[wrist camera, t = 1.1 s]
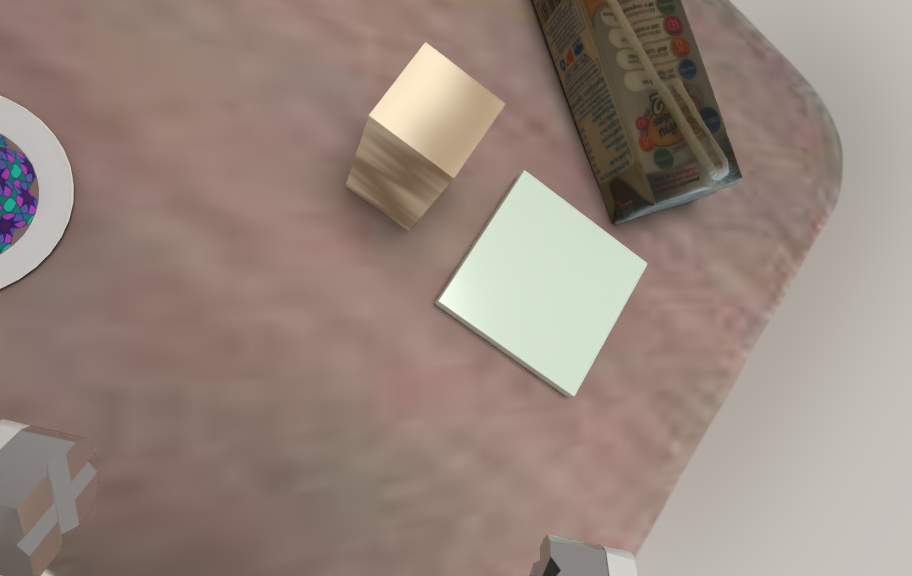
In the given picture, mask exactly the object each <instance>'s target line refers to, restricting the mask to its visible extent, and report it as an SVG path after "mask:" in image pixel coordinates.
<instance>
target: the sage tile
mask: <svg viewBox="0 0 912 576" xmlns="http://www.w3.org/2000/svg"><path fill="white" fill-rule="evenodd" d="M646 266H647V263H646V262H645V261H643V260H642V259H641V258H640V257H638V256H637V255H636V254H634V253H633V252H632V251H630V250H629V249H628V248H626V247H625V246H624V245H622V244H621V243H620V242H619V241H617V240H616V239H615V238H613V237H612V236H611V235H609V234H608V233H607V232H605V231H604V230H603V229H601V228H600V227H599V226H597V225H596V224H595V223H594V222H592V221H591V220H590V219H588V218H587V217H586V216H584V215H583V214H582V213H580V212H579V211H578V210H576V209H575V208H574V207H572V206H571V205H570V204H569V203H567V202H566V201H565V200H563V199H562V198H561V197H559V196H558V195H557V194H555V193H554V192H553V191H551V190H550V189H549V188H547V187H546V186H545V185H544V184H542V183H541V182H540V181H538V180H537V179H536V178H534V177H533V176H532V175H530V174H529V173H528V172H526V171H525V170H524V171H523V172H522V173H521V174H520V175H518V177H517V178H516V180H515V181H514V183H513V184H512V186H511V187H510V189H509V190H508V192H507V193H506V195H505V196H504V198H503V199H502V201H501V202H500V204H499V205H498V207H497V209H496V210H495V212H494V213H493V215H492V216H491V218H490V219H489V221H488V222H487V224H486V225H485V227H484V228H483V230H482V231H481V233H480V234H479V236H478V237H477V239H476V240H475V242H474V243H473V245H472V246H471V248H470V250H469V251H468V253H467V254H466V256H465V257H464V259H463V260H462V262H461V263H460V265H459V266H458V268H457V269H456V271H455V272H454V274H453V275H452V277H451V278H450V280H449V281H448V283H447V284H446V286H445V287H444V289H443V291H442V292H441V294H440V295H439V297H438V298H437V300H436V301H435V303H434V304H436V305H437V306H438V307H440V308H441V309H443V310H444V311H446V312H447V313H448V314H450V315H451V316H453V317H454V318H455V319H457V320H458V321H460V322H461V323H463V324H464V325H465V326H467V327H468V328H470V329H471V330H473V331H474V332H475V333H477V334H478V335H480V336H481V337H483V338H484V339H485V340H487V341H488V342H490V343H491V344H492V345H494V346H495V347H497V348H498V349H500V350H501V351H502V352H504V353H505V354H507V355H508V356H510V357H511V358H512V359H514V360H515V361H517V362H518V363H519V364H521V365H522V366H524V367H525V368H527V369H528V370H529V371H531V372H532V373H534V374H535V375H537V376H538V377H539V378H541V379H542V380H544V381H545V382H546V383H548V384H549V385H551V386H552V387H554V388H555V389H556V390H558V391H559V392H561V393H562V394H564V395H565V396H572V397H574V396H575V394H576V392H577V390H578V389H579V387H580V385H581V383H582V381H583V380H584V378H585V376H586V374H587V372H588V371H589V369H590V367H591V365H592V363H593V362H594V360H595V358H596V356H597V354H598V352H599V351H600V349H601V347H602V345H603V343H604V342H605V340H606V338H607V336H608V334H609V333H610V331H611V329H612V327H613V325H614V324H615V322H616V320H617V318H618V316H619V315H620V313H621V311H622V309H623V307H624V306H625V304H626V302H627V300H628V298H629V297H630V295H631V293H632V291H633V289H634V288H635V286H636V284H637V282H638V280H639V278H640V277H641V275H642V273H643V271H644V269H645V268H646Z"/></svg>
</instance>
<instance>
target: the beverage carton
mask: <svg viewBox="0 0 912 576" xmlns="http://www.w3.org/2000/svg"><path fill="white" fill-rule="evenodd" d="M533 2H534V5H535V8H536V11H537V14H538V17H539V20H540V23H541V25H542V28H543V31H544V34H545V37H546V40H547V43H548V46H549V49H550V51H551V54H552V57H553V60H554V63H555V65H556V68H557V71H558V73H559V76H560V79H561V82H562V85H563V88H564V91H565V93H566V96H567V99H568V101H569V104H570V107H571V110H572V113H573V115H574V118H575V121H576V124H577V127H578V130H579V132H580V135H581V138H582V141H583V144H584V147H585V149H586V152H587V155H588V158H589V161H590V163H591V166H592V169H593V172H594V175H595V177H596V180H597V182H598V185H599V187H600V190H601V192H602V194H603V197H604V200H605V203H606V206H607V209H608V211H609V214H610V217H611V220H612V223H613V224H615V225H616V224H620V223H622V222H625V221H628V220H632V219H634V218H636V217H639V216H643V215H648V214H651V213H654V212H657V211H661V210H664V209H668V208H671V207H674V206H678V205H682V204H685V203H688V202H691V201H695V200H698V199H700V198H703V197H707V196H709V195H711V194H713V193H715V192H716V191H718V190H720V189H723V188H726V187H729V186H732V185H734V184H737V183H738V182H740V181H741V180H742V175H741V172H740V170H739V167H738V164H737V161H736V158H735V154H734V152H733V149H732V146H731V143H730V141H729V138H728V135H727V132H726V128H725V125H724V122H723V118H722V116H721V113H720V110H719V107H718V105H717V102H716V99H715V96H714V92H713V89H712V87H711V85H710V82H709V79H708V76H707V73H706V70H705V67H704V64H703V62H702V59H701V56H700V53H699V50H698V47H697V44H696V41H695V38H694V35H693V33H692V30H691V28H690V25H689V22H688V19H687V16H686V13H685V10H684V8H683V5H682V2H681V0H533Z"/></svg>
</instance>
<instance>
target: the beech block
mask: <svg viewBox="0 0 912 576" xmlns="http://www.w3.org/2000/svg"><path fill="white" fill-rule="evenodd" d="M504 106H505V103H503V102H502V101H501V100H500V99H498V98H497V97H496V96H494V95H493V94H492V93H491V92H489V91H488V90H487V89H485V88H484V87H483V86H482V85H480V84H479V83H478V82H476V81H475V80H474V79H473V78H471V77H470V76H469V75H467V74H466V73H465V72H463V71H462V70H461V69H460V68H458V67H457V66H456V65H454V64H453V63H452V62H451V61H449V60H448V59H447V58H445V57H444V56H443V55H442V54H440V53H439V52H438V51H436V50H435V49H434V48H432V47H431V46H430V45H429V44H427V43H426V42H425V43H424V45H423V46H422V47H421V49H420V50H419V51H418V53H417V54H416V55H415V56H414V58H413V59H412V60H411V62H410V63H409V64H408V65H407V67H406V68H405V69H404V71H403V72H402V73H401V75H400V76H399V77H398V78H397V80H396V81H395V82H394V84H393V85H392V86H391V87H390V89H389V90H388V91H387V93H386V94H385V95H384V96H383V98H382V99H381V100H380V102H379V103H378V104H377V106H376V107H375V108H374V109H373V111H372V112H371V113H370V115H369V116H368V119H367V122H366V126H365V129H364V132H363V135H362V138H361V141H360V144H359V147H358V150H357V153H356V156H355V159H354V162H353V165H352V168H351V171H350V174H349V177H348V180H347V183H346V187H348V188H349V189H350V190H352V191H353V192H355V193H356V194H357V195H359V196H360V197H362V198H363V199H364V200H366V201H367V202H368V203H370V204H371V205H373V206H374V207H375V208H377V209H378V210H380V211H381V212H382V213H384V214H385V215H387V216H388V217H389V218H391V219H392V220H394V221H395V222H396V223H398V224H399V225H401V226H402V227H403V228H405V229H406V230H407V231H410V230H411V228H412V227H413V226H414V225H415V224H416V222H417V221H418V220H419V219H420V218H421V217H422V215H423V214H424V213H425V212H426V211H427V209H428V208H429V207H430V206H431V205H432V204H433V202H434V201H435V200H436V199H437V198H438V196H439V195H440V194H441V193H442V192H443V191H444V189H445V188H446V187H447V186H448V185H449V184H450V182H451V181H452V180H453V179H454V177H455V176H456V175H457V173H458V172H459V170H460V169H461V167H462V166H463V164H464V163H465V162H466V160H467V159H468V157H469V156H470V154H471V153H472V152H473V150H474V149H475V147H476V146H477V144H478V143H479V141H480V140H481V139H482V137H483V136H484V134H485V133H486V131H487V130H488V129H489V127H490V126H491V124H492V123H493V121H494V120H495V118H496V117H497V116H498V114H499V113H500V111H501V110H502V108H503V107H504Z"/></svg>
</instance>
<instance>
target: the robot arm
mask: <svg viewBox="0 0 912 576" xmlns="http://www.w3.org/2000/svg"><path fill="white" fill-rule="evenodd" d="M94 454H95V453H94V448H93V443H92V440H90V439H86V438H82V437H78V436H74V435H70V434H66V433H61V432H57V431H53V430H49V429H45V428H41V427H36V426H32V425H27V424H23V423H18V422H14V421H9V420H5V419H2V420H0V575H1V576H40V575H41V574H42V573H43V572H44V570H45V569H46V568H47V566H48V565H49V564H50V563H51V561H52V560H53V559H54V557H55V556H56V555H57V554H58V552H59V551H60V550H61V548H62V534H63V533H65V532H67V531H69V530H71V529H73V528H75V527H77V526H79V525H80V523H81V522H82V521H83V519H84V518H85V517H86V515H87V514H88V513H89V511H90V509H91V507H92V505H93V502H94V500H95V498H96V495H97V491H98V484H99V479H98V472H97V471H96V470H95V468H94V467H93V466H92V465H91V464H90V463H89V462H88V461H89V460H90V459H91V458H92V456H93V455H94ZM530 576H638V575H637V569H636V563H635V558H634V556H633V555H632V553H631V552H628V551H623V550H619V549H614V548H609V547H604V546H601V545H597V544H592V543H587V542H582V541H577V540H572V539H567V538H562V537H557V536H552V535H546V536H545V538H544V539H543V542H542V544H541V546H540V561H538V562H536V563H534V564H533V567H532V570H531V573H530Z"/></svg>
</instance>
